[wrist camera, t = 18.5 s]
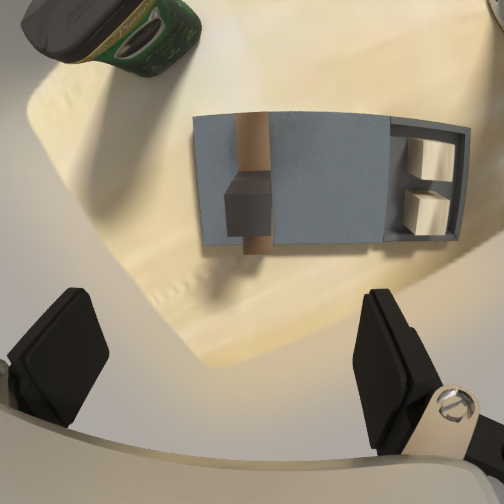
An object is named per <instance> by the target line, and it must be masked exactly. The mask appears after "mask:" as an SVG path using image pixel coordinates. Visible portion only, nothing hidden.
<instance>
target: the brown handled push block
mask: <svg viewBox="0 0 504 504" xmlns="http://www.w3.org/2000/svg"><path fill="white" fill-rule="evenodd" d="M235 125H236V141H237V158H238V173H237V174H236V176H235V178H234V179H233V181H232V182H231V184H230V186H229V187H228V189H227V190H226V192H225V194H224V202H225V215H226V227H227V237H243V250H244V255H247V254H273V211H272V182H271V156H270V133H269V112H248V113H235Z"/></svg>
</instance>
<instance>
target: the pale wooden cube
mask: <svg viewBox="0 0 504 504" xmlns="http://www.w3.org/2000/svg"><path fill="white" fill-rule="evenodd" d="M449 206H450V200H448V199H446V198H445V197H443V196H441V195H440V194H438V193H436V192H434V191H419V190H405V201H404V211H403V220H402V223H403V224H404V225H405V226H406V227H407V228H408V229H409V230H410V231H411V232H412V233H413V234H415V235H445V232H446V226H447V220H448V213H449Z"/></svg>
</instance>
